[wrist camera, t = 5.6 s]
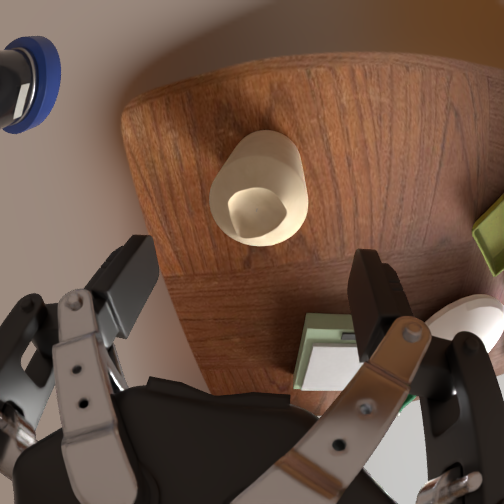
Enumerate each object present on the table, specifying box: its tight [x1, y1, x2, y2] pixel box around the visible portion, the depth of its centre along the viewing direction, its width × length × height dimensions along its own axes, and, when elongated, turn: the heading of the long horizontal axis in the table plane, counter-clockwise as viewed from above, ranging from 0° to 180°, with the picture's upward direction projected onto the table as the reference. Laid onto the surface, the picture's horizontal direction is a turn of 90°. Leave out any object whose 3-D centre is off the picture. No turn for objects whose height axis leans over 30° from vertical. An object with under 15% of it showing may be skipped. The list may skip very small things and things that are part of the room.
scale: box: [293, 313, 363, 391], centre depth 34 cm, size 12×13×3 cm
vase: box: [425, 294, 504, 352], centre depth 29 cm, size 16×16×7 cm
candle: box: [209, 130, 308, 246], centre depth 19 cm, size 6×6×10 cm
